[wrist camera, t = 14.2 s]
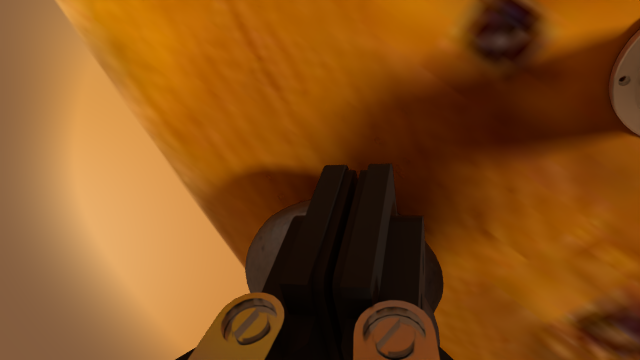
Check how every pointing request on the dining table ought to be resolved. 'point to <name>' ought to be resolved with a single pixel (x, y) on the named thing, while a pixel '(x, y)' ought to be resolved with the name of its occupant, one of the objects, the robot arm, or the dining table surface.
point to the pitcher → (273, 236)
